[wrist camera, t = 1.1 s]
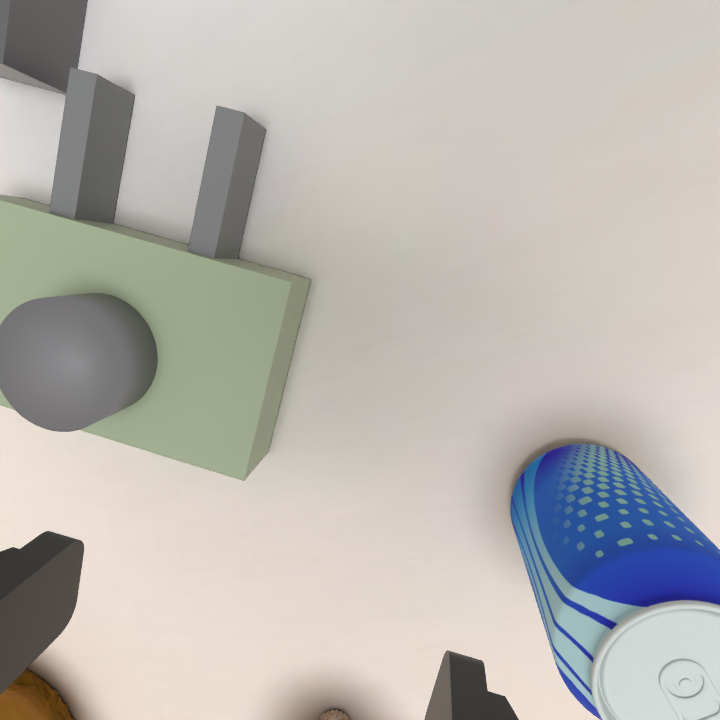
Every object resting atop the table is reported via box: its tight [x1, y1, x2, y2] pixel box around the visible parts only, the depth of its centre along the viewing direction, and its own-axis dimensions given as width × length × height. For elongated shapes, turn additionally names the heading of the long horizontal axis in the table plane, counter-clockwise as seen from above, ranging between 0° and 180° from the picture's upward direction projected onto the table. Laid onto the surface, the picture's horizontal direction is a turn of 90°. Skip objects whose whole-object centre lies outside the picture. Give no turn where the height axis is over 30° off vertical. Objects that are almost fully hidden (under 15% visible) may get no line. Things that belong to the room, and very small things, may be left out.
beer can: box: [510, 444, 720, 720], centre depth 28 cm, size 8×8×16 cm
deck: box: [0, 67, 311, 481], centre depth 32 cm, size 20×20×9 cm
